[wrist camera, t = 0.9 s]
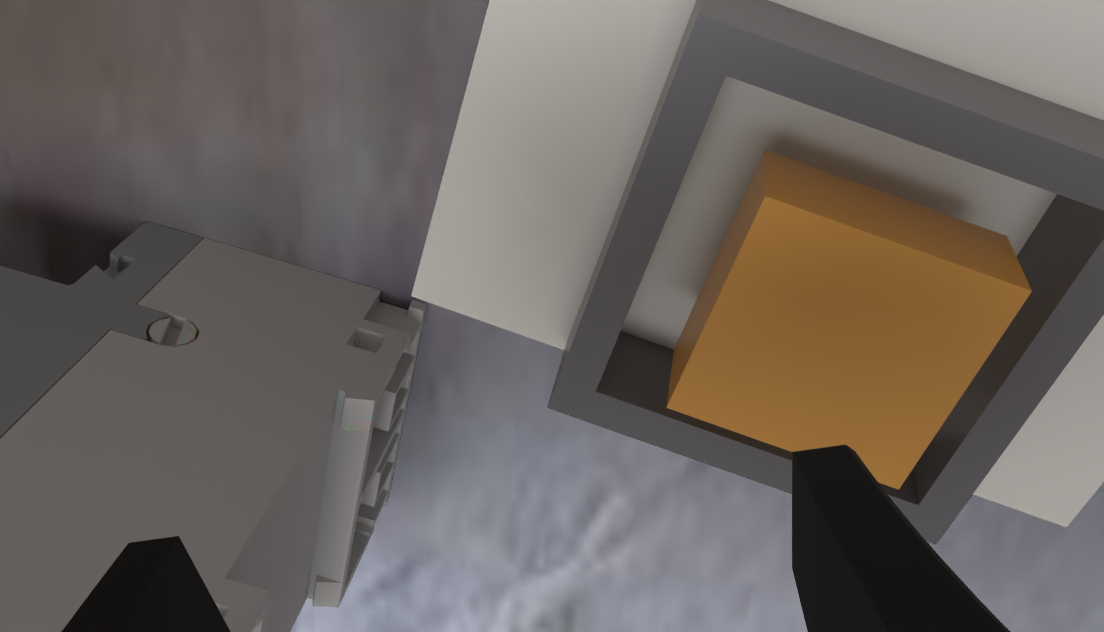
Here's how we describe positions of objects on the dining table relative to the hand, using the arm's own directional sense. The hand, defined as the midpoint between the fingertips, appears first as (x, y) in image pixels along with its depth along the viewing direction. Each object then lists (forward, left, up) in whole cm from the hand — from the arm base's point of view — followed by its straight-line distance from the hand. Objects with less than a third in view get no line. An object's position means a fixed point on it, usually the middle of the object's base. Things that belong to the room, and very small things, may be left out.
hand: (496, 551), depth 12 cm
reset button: (-5, 0, -9) cm, 10 cm away
